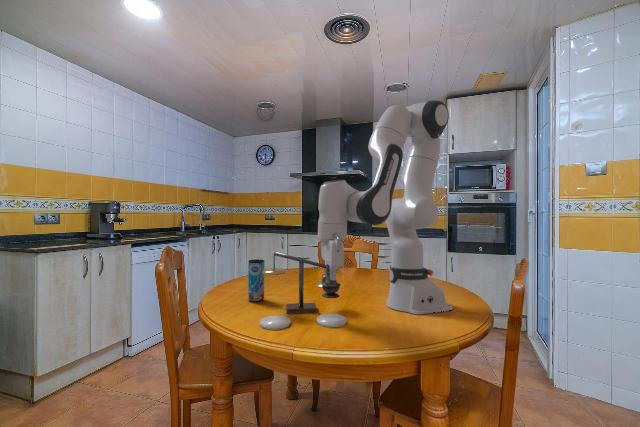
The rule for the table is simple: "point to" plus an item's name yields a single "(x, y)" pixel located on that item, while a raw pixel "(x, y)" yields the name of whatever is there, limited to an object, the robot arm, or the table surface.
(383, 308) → the table surface
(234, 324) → the table surface
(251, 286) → the beverage can
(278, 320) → the dish high side
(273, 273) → the balance
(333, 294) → the chess piece
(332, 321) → the dish low side
